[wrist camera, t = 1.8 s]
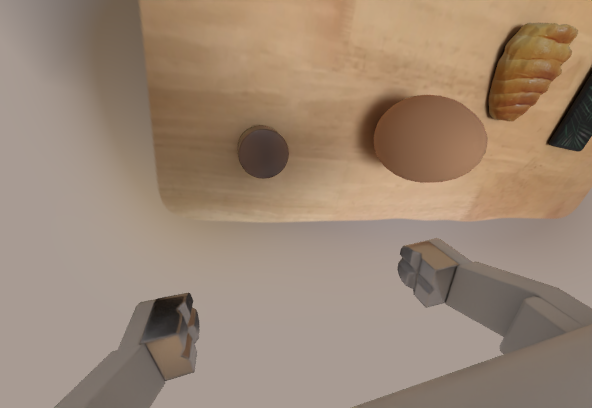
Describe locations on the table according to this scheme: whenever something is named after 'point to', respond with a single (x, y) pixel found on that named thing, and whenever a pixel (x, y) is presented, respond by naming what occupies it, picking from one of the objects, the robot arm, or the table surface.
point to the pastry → (528, 68)
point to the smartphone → (576, 122)
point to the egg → (430, 139)
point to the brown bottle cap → (262, 151)
